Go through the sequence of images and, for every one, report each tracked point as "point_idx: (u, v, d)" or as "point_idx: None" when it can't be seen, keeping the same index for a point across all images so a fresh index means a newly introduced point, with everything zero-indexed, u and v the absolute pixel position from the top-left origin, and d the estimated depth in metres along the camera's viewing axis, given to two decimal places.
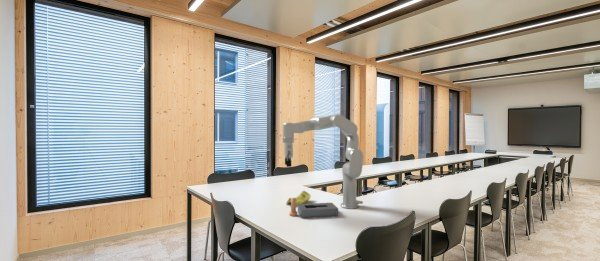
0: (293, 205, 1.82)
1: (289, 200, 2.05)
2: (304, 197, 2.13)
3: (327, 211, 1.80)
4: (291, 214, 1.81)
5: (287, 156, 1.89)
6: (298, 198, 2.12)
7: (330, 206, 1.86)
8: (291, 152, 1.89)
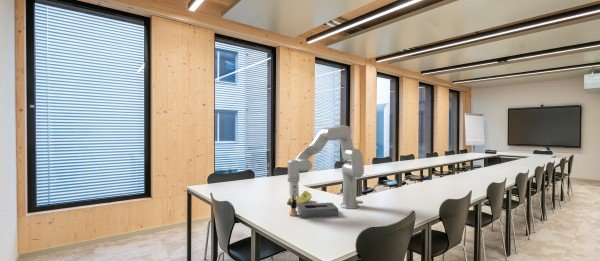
0: None
1: (289, 200, 2.05)
2: (305, 197, 2.13)
3: (327, 211, 1.80)
4: (291, 214, 1.81)
5: (292, 197, 1.80)
6: (299, 198, 2.12)
7: (330, 206, 1.86)
8: (297, 192, 1.78)
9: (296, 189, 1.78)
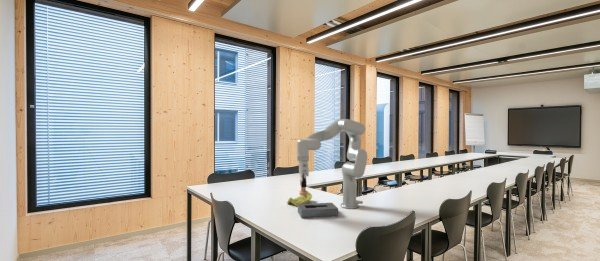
0: None
1: (289, 200, 2.05)
2: (305, 197, 2.13)
3: (327, 211, 1.80)
4: (301, 193, 1.82)
5: (302, 176, 1.81)
6: (299, 198, 2.12)
7: (330, 206, 1.86)
8: (307, 171, 1.79)
9: (306, 168, 1.79)
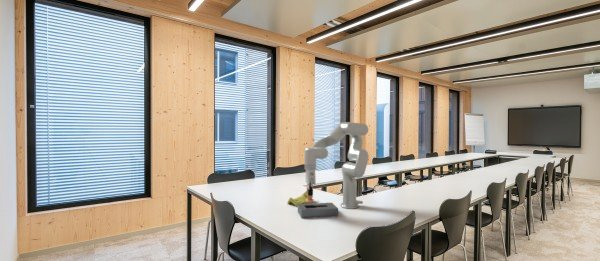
0: None
1: (290, 200, 2.05)
2: (306, 197, 2.13)
3: (327, 211, 1.80)
4: (307, 201, 1.83)
5: (309, 185, 1.82)
6: (300, 198, 2.12)
7: (330, 206, 1.86)
8: (314, 179, 1.80)
9: (313, 176, 1.80)
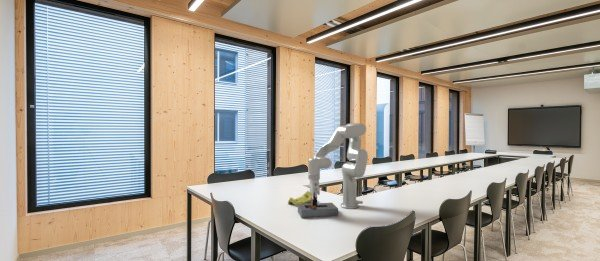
0: None
1: (290, 200, 2.06)
2: (307, 197, 2.12)
3: (327, 211, 1.80)
4: None
5: (313, 195, 1.83)
6: (300, 198, 2.12)
7: (330, 206, 1.86)
8: (318, 190, 1.81)
9: (317, 187, 1.81)
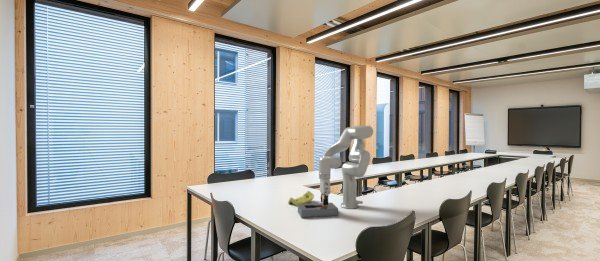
0: None
1: (290, 200, 2.06)
2: (307, 197, 2.12)
3: (327, 211, 1.80)
4: None
5: (324, 194, 1.83)
6: (301, 198, 2.12)
7: (330, 206, 1.86)
8: (329, 189, 1.82)
9: (328, 186, 1.82)
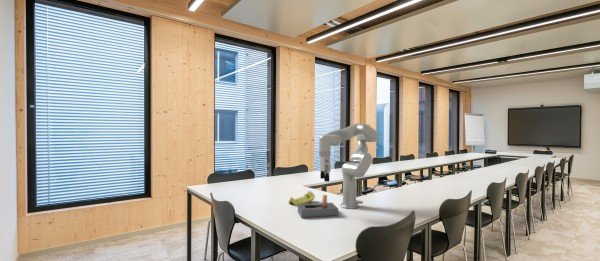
0: (324, 202, 1.85)
1: (290, 200, 2.06)
2: (308, 198, 2.12)
3: (327, 211, 1.80)
4: None
5: (325, 170, 1.82)
6: (301, 198, 2.12)
7: (330, 206, 1.86)
8: (329, 166, 1.82)
9: (328, 163, 1.82)
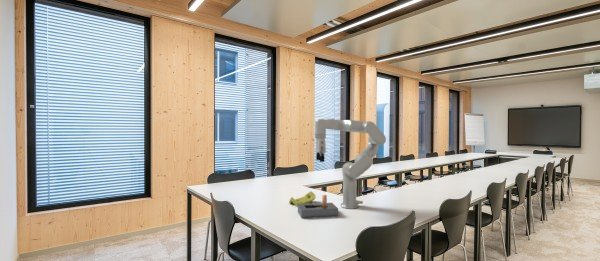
0: (324, 202, 1.86)
1: (291, 199, 2.06)
2: (308, 198, 2.12)
3: (327, 211, 1.80)
4: None
5: (320, 151, 1.94)
6: (302, 198, 2.12)
7: (330, 206, 1.86)
8: (324, 147, 1.94)
9: (323, 145, 1.94)
